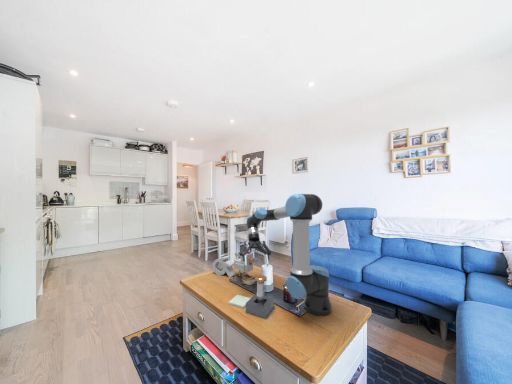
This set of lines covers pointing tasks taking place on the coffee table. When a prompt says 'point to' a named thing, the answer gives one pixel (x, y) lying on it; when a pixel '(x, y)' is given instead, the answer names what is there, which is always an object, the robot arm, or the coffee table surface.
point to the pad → (239, 301)
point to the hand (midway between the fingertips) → (256, 265)
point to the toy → (240, 264)
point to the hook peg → (260, 288)
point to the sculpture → (223, 266)
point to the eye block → (260, 306)
